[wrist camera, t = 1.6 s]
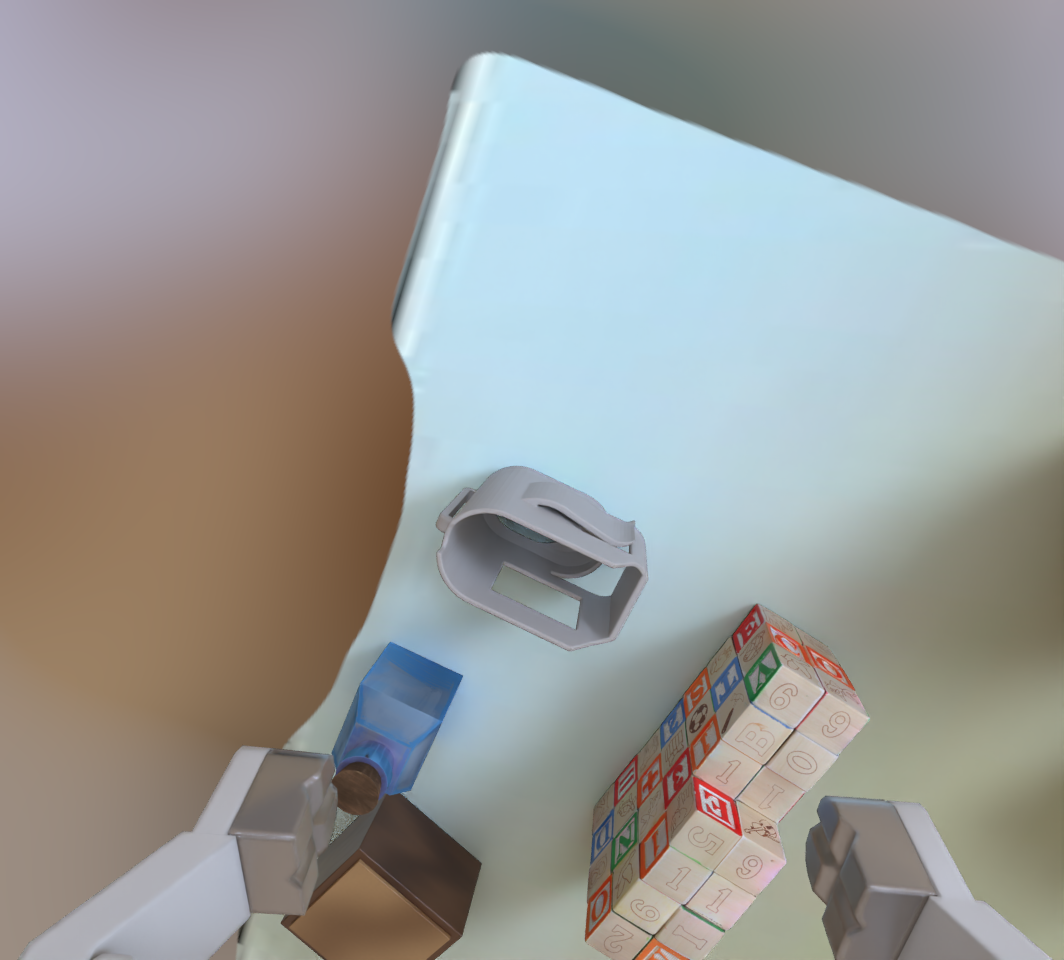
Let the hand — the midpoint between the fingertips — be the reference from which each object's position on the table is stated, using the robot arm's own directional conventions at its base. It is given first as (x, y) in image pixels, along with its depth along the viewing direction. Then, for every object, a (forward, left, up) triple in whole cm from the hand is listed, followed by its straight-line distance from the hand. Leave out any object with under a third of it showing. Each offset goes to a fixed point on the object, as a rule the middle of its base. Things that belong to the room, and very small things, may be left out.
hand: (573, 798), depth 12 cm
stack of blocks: (-23, +4, -37) cm, 44 cm away
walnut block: (-24, +32, -37) cm, 55 cm away
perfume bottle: (-11, +23, -37) cm, 45 cm away
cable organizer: (-4, +6, -37) cm, 38 cm away
